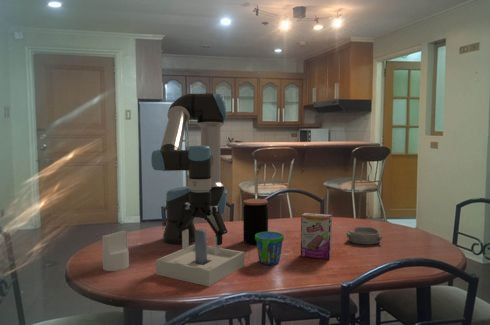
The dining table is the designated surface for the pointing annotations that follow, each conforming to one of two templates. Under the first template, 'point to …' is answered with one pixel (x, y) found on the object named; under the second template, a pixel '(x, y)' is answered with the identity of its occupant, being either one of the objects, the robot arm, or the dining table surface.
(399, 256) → the dining table surface
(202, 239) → the peg
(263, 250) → the snack cup
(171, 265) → the beige square tray
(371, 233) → the dish
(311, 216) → the candy bar box
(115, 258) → the white stepped block
